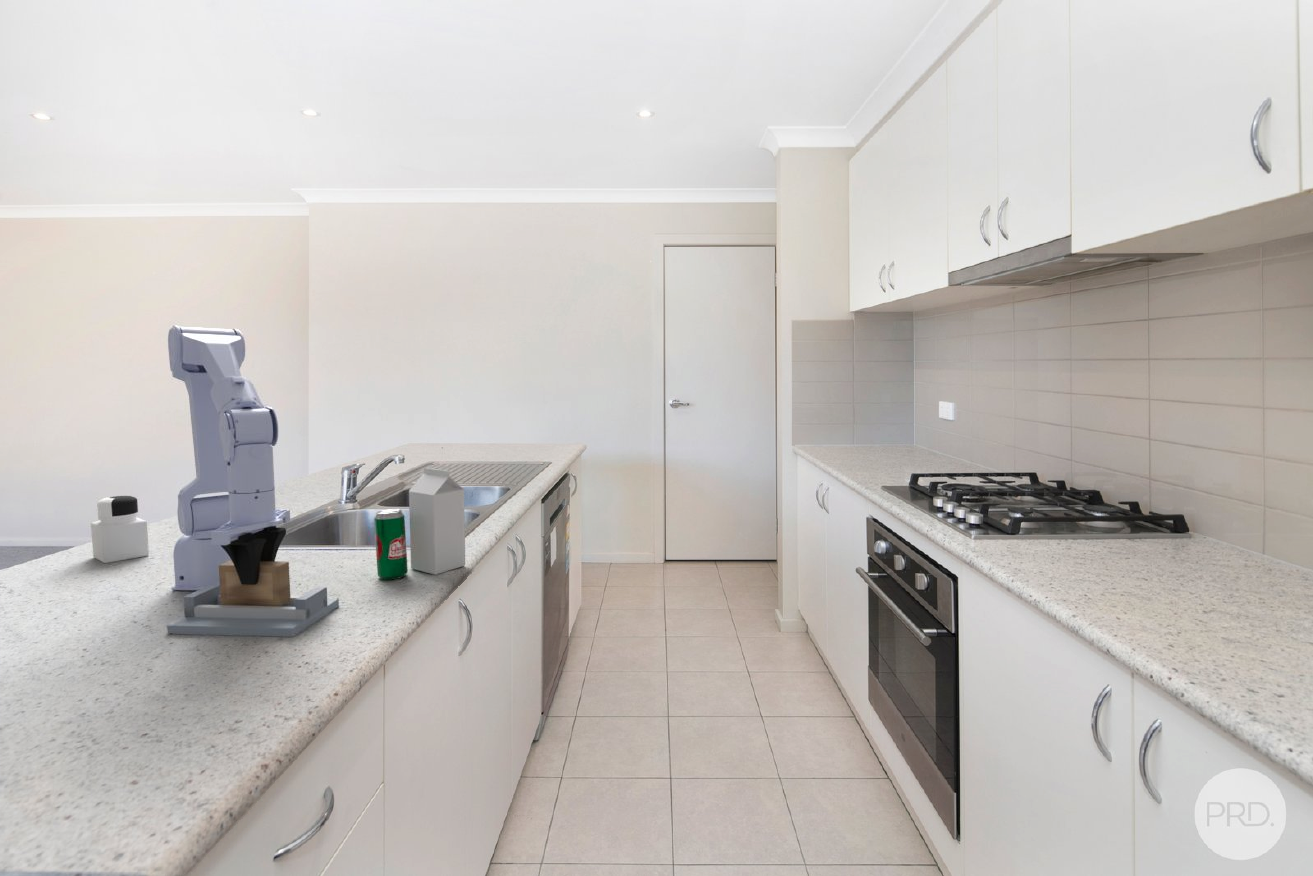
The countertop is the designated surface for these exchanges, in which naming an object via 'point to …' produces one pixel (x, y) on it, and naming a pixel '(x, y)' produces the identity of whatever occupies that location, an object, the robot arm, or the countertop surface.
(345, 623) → the countertop surface
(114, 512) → the medicine bottle
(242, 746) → the countertop surface
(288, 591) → the door slab
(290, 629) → the floor track
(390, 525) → the soda can
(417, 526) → the milk carton
